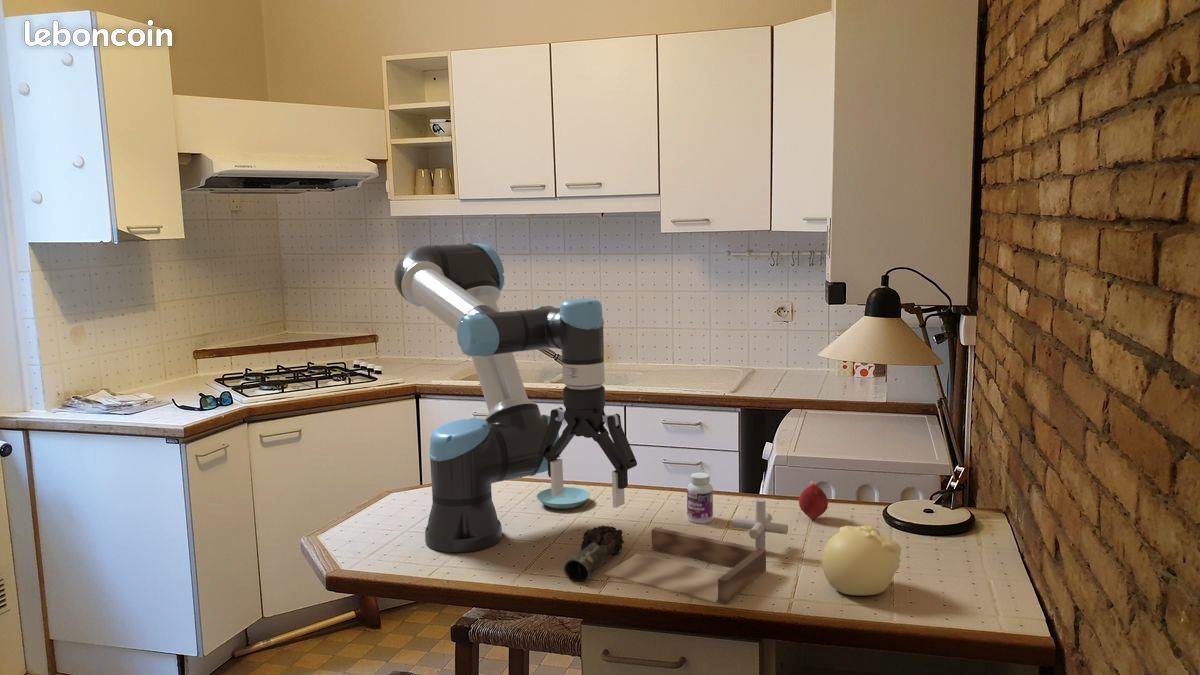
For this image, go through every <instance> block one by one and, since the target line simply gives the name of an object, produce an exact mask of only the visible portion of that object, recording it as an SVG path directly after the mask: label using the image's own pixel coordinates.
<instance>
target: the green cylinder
mask: <svg viewBox="0 0 1200 675" xmlns="http://www.w3.org/2000/svg"><path fill="white" fill-rule="evenodd" d="M623 534H624V532H623V530H622V529H617V528H616V527H614V526H609V525H604V524H603V525H599V526H596V527H594V526H593V527H592V528H589V529H586V531H584V533H583V536H582V542H581V544H580V551H579V552H578V553H576V554H575V555H574V556H573V557H571V558H570V559H569V560H568V561H567V562H566V563H565V564H564V568H563V571H564V574H565V575H566V577H567V578H568V579H569V580H570V581H572V582H574V583H578V584H584V583H586V582H587V581H588V580H589V579H590V578H591V576H592V575H593V574H594V573H596V571H597V570H598V569H599V568H600V566H602V565H603V563H604V562H606V560H607V559H608V558H610V557H611V556H617V555H619V554H620V552H621V550H622V549H623V544H624V543H625V540H624V538H623Z"/></svg>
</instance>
